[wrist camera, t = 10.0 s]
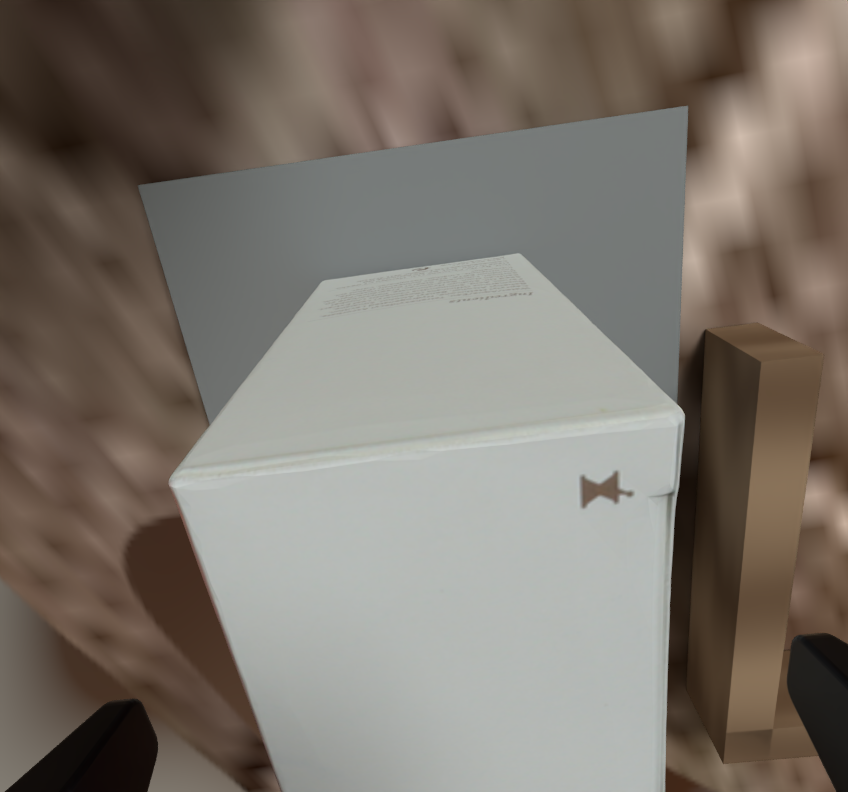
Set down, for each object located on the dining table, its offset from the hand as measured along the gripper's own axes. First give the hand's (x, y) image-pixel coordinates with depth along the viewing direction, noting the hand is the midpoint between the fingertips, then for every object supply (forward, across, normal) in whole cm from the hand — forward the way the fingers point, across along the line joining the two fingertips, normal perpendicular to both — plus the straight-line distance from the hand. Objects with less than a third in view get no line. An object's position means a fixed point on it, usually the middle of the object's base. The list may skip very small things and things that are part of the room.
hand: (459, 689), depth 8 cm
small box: (+10, 0, 0) cm, 10 cm away
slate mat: (+10, 0, 0) cm, 11 cm away
